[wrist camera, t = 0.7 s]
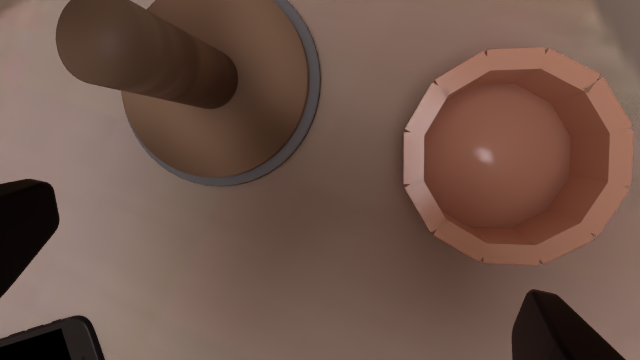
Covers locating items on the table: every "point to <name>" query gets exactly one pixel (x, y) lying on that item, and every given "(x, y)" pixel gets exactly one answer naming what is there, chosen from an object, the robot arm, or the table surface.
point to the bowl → (518, 156)
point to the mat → (298, 134)
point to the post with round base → (194, 76)
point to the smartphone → (54, 342)
